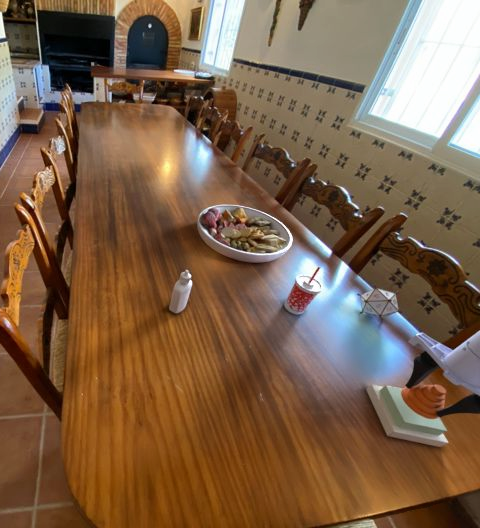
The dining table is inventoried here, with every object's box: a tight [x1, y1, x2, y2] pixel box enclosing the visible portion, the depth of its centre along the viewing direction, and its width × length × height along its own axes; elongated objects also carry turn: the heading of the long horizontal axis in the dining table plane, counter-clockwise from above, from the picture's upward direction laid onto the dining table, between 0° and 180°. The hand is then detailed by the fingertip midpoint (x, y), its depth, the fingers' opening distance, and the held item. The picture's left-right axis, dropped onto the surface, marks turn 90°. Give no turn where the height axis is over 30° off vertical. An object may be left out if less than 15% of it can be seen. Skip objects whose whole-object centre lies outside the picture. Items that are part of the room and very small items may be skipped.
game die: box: [356, 284, 404, 322], centre depth 75 cm, size 9×8×10 cm
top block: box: [380, 385, 448, 435], centre depth 55 cm, size 7×7×2 cm
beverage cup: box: [283, 266, 324, 315], centre depth 73 cm, size 6×6×14 cm
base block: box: [365, 384, 449, 448], centre depth 56 cm, size 9×9×2 cm
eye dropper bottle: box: [168, 269, 193, 314], centre depth 71 cm, size 4×6×12 cm
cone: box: [401, 384, 447, 419], centre depth 51 cm, size 6×6×5 cm
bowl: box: [196, 204, 293, 264], centre depth 98 cm, size 30×30×8 cm
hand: (425, 398), depth 51 cm, fingers closed on cone, 4 cm apart
